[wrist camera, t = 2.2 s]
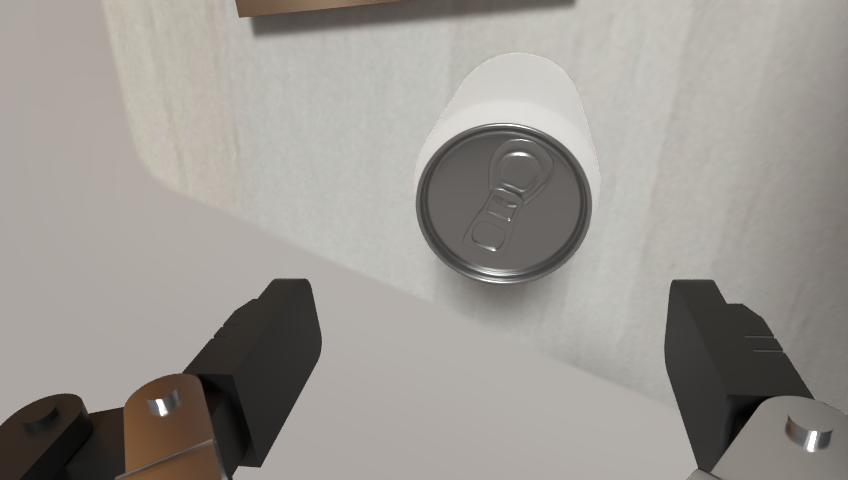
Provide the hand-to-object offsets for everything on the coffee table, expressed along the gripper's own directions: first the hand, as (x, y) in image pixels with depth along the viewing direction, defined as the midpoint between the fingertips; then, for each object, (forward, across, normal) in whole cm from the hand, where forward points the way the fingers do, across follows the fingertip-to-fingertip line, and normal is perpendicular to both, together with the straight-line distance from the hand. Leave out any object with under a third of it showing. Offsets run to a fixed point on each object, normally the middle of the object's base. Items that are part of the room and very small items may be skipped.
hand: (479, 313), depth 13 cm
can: (+18, 0, 0) cm, 18 cm away
